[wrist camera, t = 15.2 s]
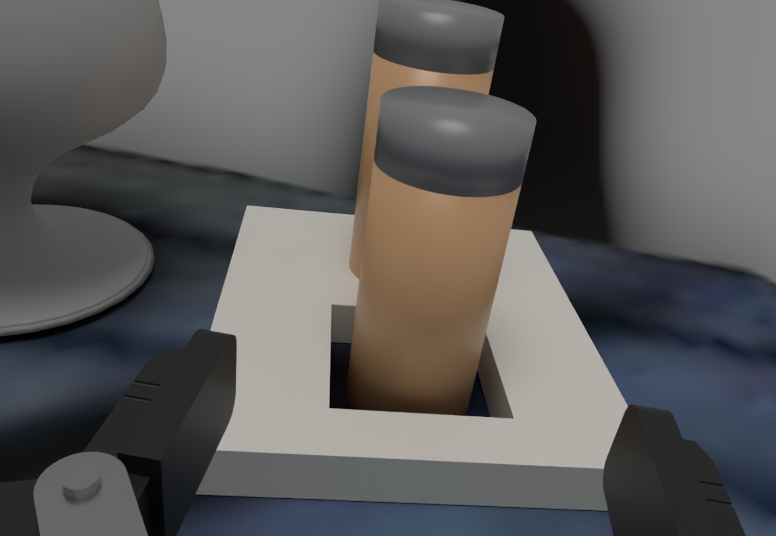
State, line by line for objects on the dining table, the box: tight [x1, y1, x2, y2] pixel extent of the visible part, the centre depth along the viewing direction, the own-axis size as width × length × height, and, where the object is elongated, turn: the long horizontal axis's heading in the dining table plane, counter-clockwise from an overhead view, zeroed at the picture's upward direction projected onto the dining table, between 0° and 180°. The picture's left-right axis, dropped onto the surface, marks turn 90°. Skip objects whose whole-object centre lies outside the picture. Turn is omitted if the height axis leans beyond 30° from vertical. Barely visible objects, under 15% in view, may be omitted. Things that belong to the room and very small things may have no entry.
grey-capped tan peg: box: [346, 86, 536, 416], centre depth 24 cm, size 5×5×12 cm
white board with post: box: [196, 0, 628, 511], centre depth 27 cm, size 16×18×14 cm
